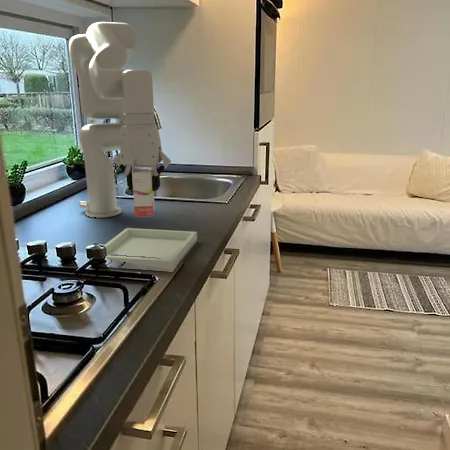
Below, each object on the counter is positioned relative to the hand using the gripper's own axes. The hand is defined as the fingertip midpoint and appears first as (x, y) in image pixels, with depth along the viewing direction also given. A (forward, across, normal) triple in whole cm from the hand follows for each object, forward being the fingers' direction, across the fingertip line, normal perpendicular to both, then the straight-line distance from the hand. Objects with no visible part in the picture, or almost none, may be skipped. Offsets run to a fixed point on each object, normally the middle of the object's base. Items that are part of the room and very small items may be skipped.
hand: (143, 188), depth 127 cm
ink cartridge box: (+7, 0, 0) cm, 7 cm away
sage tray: (+18, 0, 0) cm, 18 cm away
